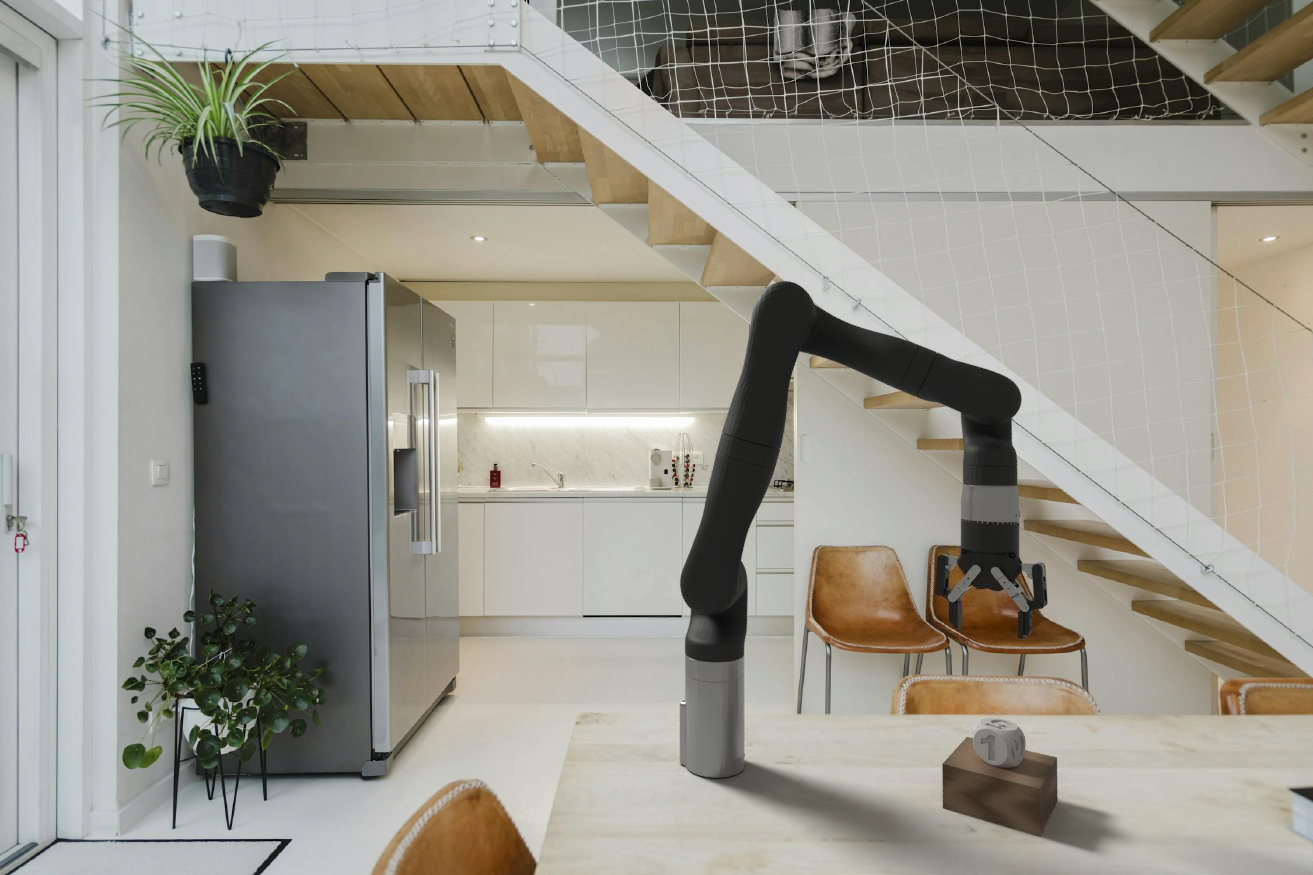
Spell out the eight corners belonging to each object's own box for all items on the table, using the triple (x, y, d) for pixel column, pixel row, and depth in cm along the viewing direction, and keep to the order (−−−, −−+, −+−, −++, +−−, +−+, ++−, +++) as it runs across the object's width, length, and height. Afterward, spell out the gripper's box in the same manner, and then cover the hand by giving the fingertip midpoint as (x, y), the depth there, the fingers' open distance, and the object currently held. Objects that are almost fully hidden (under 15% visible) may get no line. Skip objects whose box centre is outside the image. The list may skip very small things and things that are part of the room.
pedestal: (942, 807, 100) (942, 763, 100) (967, 776, 109) (966, 736, 109) (1040, 836, 92) (1039, 788, 92) (1057, 800, 102) (1057, 757, 102)
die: (972, 759, 101) (972, 722, 101) (990, 749, 104) (990, 714, 104) (1008, 771, 97) (1008, 733, 97) (1026, 761, 100) (1025, 725, 100)
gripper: (929, 515, 104) (929, 629, 104) (1040, 522, 95) (1039, 647, 95) (945, 512, 110) (945, 620, 110) (1051, 518, 101) (1051, 636, 101)
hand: (989, 632), depth 102 cm, fingers open, 8 cm apart
